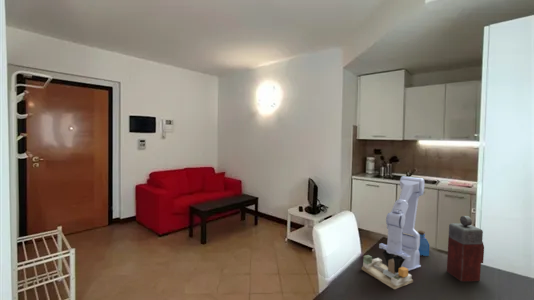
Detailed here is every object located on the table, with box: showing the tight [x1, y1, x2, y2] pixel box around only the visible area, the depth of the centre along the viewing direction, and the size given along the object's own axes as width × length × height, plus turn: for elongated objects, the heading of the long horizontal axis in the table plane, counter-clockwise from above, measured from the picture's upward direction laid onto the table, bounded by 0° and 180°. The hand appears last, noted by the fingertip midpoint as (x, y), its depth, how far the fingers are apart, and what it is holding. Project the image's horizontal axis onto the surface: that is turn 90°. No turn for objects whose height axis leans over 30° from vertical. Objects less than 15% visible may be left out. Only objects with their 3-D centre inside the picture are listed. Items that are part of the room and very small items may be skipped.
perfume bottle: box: [417, 230, 430, 257], centre depth 145 cm, size 6×6×12 cm
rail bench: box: [361, 254, 414, 290], centre depth 121 cm, size 12×18×6 cm, turn 27°
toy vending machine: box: [446, 215, 485, 282], centre depth 121 cm, size 9×11×28 cm
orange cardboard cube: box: [398, 267, 409, 277], centre depth 115 cm, size 3×2×3 cm
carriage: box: [383, 259, 398, 278], centre depth 118 cm, size 7×5×6 cm
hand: (393, 269), depth 118 cm, fingers open, 3 cm apart
